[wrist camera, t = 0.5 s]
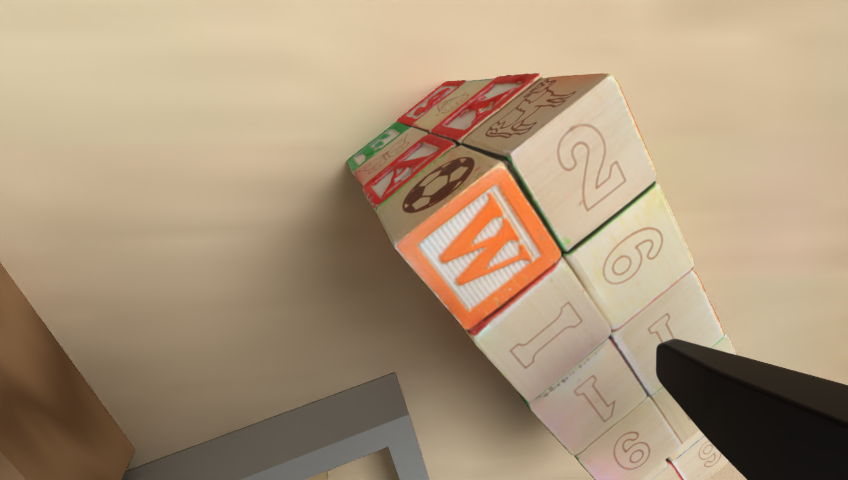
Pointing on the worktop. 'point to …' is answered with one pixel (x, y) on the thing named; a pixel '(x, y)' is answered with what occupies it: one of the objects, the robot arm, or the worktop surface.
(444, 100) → the stack of blocks
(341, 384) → the worktop surface
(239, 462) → the frame
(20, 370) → the board
